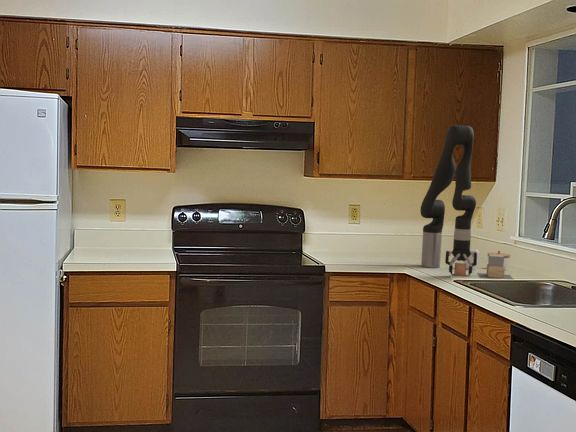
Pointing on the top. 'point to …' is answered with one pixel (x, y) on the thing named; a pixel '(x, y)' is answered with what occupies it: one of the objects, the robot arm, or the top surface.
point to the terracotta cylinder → (460, 269)
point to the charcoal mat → (483, 275)
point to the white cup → (472, 259)
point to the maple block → (495, 271)
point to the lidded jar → (506, 258)
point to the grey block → (496, 260)
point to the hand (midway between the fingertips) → (460, 274)
